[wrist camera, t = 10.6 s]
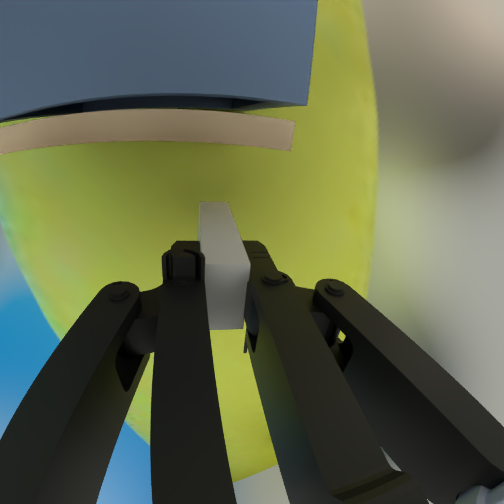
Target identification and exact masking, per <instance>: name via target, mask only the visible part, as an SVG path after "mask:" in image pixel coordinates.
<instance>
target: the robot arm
mask: <svg viewBox="0 0 504 504" xmlns="http://www.w3.org/2000/svg"><path fill="white" fill-rule="evenodd" d="M162 273H163V284H162V285H160V286H159V287H157V288H155V289H152V290H148V291H143V292H140V291H139V288H138V287H137V286H136V285H135V284H133V283H130V282H123V281H119V282H113V283H111V284H108V285H106V286H105V287H104V288H102V289H101V290H100V291H99V293H98V294H97V295H96V296H95V297H94V299H93V300H92V301H91V302H90V304H89V305H88V306H87V307H86V309H85V310H84V311H83V313H82V314H81V315H80V316H79V318H78V319H77V320H76V322H75V323H74V324H73V326H72V327H71V328H70V330H69V331H68V332H67V334H66V335H65V336H64V338H63V339H62V341H61V342H60V343H59V345H58V346H57V348H56V349H55V350H54V352H53V353H52V355H51V356H50V358H49V359H48V361H47V362H46V364H45V365H44V366H43V368H42V369H41V371H40V373H39V374H38V376H37V377H36V379H35V380H34V382H33V383H32V385H31V386H30V388H29V390H28V391H27V393H26V395H25V396H24V398H23V400H22V401H21V403H20V405H19V407H18V408H17V410H16V412H15V414H14V415H13V417H12V419H11V421H10V422H9V424H8V426H7V428H6V430H5V432H4V434H3V436H2V438H1V440H0V504H96V502H97V499H98V495H99V492H100V489H101V486H102V483H103V480H104V477H105V474H106V471H107V468H108V464H109V462H110V459H111V456H112V453H113V450H114V447H115V445H116V441H117V439H118V436H119V433H120V431H121V428H122V425H123V423H124V420H125V417H126V415H127V412H128V410H129V407H130V405H131V402H132V399H133V397H134V394H135V392H136V389H137V387H138V384H139V382H140V380H141V377H142V375H143V372H144V370H145V367H146V365H147V363H148V360H149V358H150V353H152V352H155V353H154V365H153V379H152V397H151V431H150V453H151V454H150V455H151V486H152V501H153V504H237V503H236V498H235V493H234V488H233V483H232V478H231V473H230V468H229V462H228V457H227V451H226V445H225V440H224V434H223V428H222V421H221V415H220V408H219V401H218V395H217V387H216V380H215V372H214V365H213V356H212V348H211V339H210V330H223V329H243V326H244V319H245V322H246V326H247V327H246V335H245V343H244V353H247V348H248V351H249V355H250V359H251V363H252V367H253V371H254V375H255V379H256V383H257V387H258V391H259V395H260V398H261V402H262V406H263V410H264V414H265V417H266V421H267V425H268V429H269V432H270V436H271V440H272V443H273V447H274V450H275V454H276V458H277V461H278V465H279V468H280V472H281V475H282V478H283V482H284V485H285V489H286V492H287V495H288V499H289V502H290V504H429V503H428V500H429V501H431V502H432V503H433V504H504V427H503V426H502V425H501V424H500V423H499V422H498V421H497V420H496V419H495V418H494V417H493V416H492V415H491V414H490V413H489V412H488V411H487V410H486V409H485V408H484V407H483V406H482V405H481V404H480V403H479V402H478V401H477V400H476V399H475V398H474V397H473V396H472V395H471V394H470V393H469V392H468V391H467V390H466V389H465V388H464V387H462V385H460V384H459V383H458V382H457V381H456V380H455V379H454V378H453V377H452V376H451V375H450V374H449V373H447V371H445V370H444V369H443V368H442V367H441V366H440V365H439V364H438V363H437V362H436V361H435V360H434V359H433V358H431V357H430V356H429V355H428V354H427V353H426V352H425V351H423V350H422V349H421V348H420V347H419V346H418V345H417V344H416V343H415V342H414V341H413V340H411V339H410V338H409V337H408V336H407V335H406V334H405V333H403V332H402V331H401V330H400V329H399V328H398V327H397V326H395V325H394V324H393V323H392V322H391V321H390V320H388V319H387V318H386V317H385V316H384V315H383V314H382V313H380V312H379V311H378V310H377V309H376V308H374V307H373V306H372V305H371V304H370V303H369V302H368V301H366V300H365V299H364V298H363V297H362V296H360V295H359V294H358V293H357V292H356V291H355V290H353V289H352V288H351V287H350V286H348V285H347V284H345V283H344V282H341V281H339V280H337V279H322V280H320V281H318V282H317V283H316V286H315V290H314V289H307V288H301V287H297V286H295V284H294V283H293V281H292V279H291V278H290V277H289V276H288V275H287V274H285V273H283V272H280V271H278V270H277V268H276V266H275V264H274V262H273V260H272V258H271V257H270V255H269V253H268V251H267V249H266V247H265V246H264V245H263V244H262V243H260V242H259V241H242V239H241V237H240V234H239V231H238V229H237V226H236V223H235V220H234V218H233V215H232V212H231V209H230V207H229V204H228V202H199V228H198V241H176V242H175V243H174V244H173V245H172V246H171V250H168V251H167V252H165V253H164V254H163V256H162ZM340 330H341V331H342V332H343V333H344V334H345V335H346V337H345V339H344V341H341V340H340V339H339V338H338V335H339V333H340ZM380 446H381V447H382V448H383V449H384V451H385V452H386V453H387V454H388V455H389V457H390V458H391V459H392V460H393V461H394V462H395V464H396V465H397V466H398V467H399V468H400V469H401V471H402V472H401V471H396V470H394V469H393V468H392V467H391V466H390V465H389V463H388V462H387V460H386V457H385V455H384V453H383V451H382V449H381V448H380ZM427 499H428V500H427Z"/></svg>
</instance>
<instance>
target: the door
mask: <svg viewBox="0 0 504 504" xmlns="http://www.w3.org/2000/svg"><path fill="white" fill-rule="evenodd" d="M294 128H295V121H290V120H284V119H278V118H272V117H265V116H257V115H250V114H241V113H231V112H220V111H207V110H188V109H127V110H109V111H96V112H85V113H77V114H69V115H61V116H55V117H48V118H43V119H37V120H32V121H27V122H22V123H18V124H13V125H9V126H5V127H1V128H0V154H5V153H10V152H16V151H22V150H28V149H35V148H43V147H51V146H59V145H69V144H81V143H95V142H115V141H183V142H205V143H220V144H232V145H243V146H253V147H262V148H270V149H278V150H286V151H291V147H292V141H293V135H294Z"/></svg>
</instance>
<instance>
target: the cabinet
mask: <svg viewBox="0 0 504 504" xmlns="http://www.w3.org/2000/svg"><path fill="white" fill-rule="evenodd" d="M317 3H318V0H0V123H2V122H8V121H14V120H21V119H29V118H37V117H47V116H58V115H69V114H77V113H85V112H96V111H108V110H120V109H136V108H210V109H227V110H239V111H249V110H258V109H267V108H278V107H291V106H307V101H308V93H309V84H310V76H311V67H312V57H313V47H314V37H315V26H316V15H317Z"/></svg>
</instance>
